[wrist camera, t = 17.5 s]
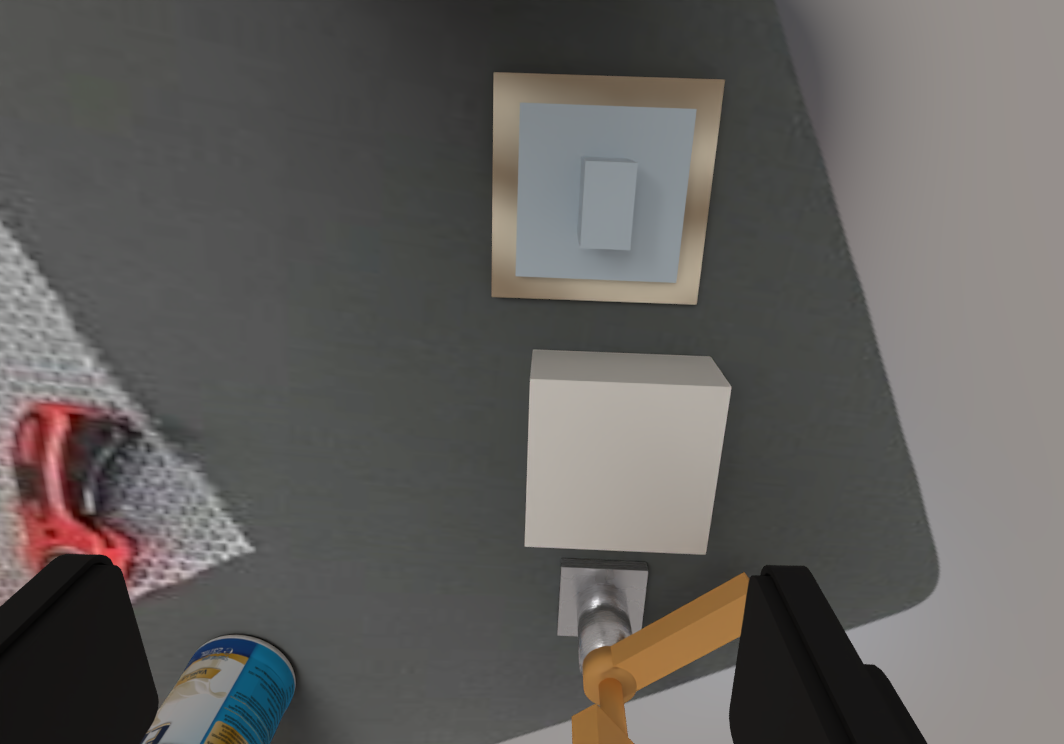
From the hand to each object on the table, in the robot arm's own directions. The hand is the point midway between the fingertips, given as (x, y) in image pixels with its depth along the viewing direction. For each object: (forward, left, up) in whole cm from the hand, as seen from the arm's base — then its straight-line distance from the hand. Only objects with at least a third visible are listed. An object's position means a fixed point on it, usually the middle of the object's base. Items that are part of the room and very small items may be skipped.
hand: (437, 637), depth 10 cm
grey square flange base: (+24, +6, -30) cm, 39 cm away
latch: (+22, +10, -24) cm, 33 cm away
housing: (+11, +6, -30) cm, 33 cm away
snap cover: (-4, +4, -29) cm, 30 cm away
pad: (-4, +4, -30) cm, 31 cm away
